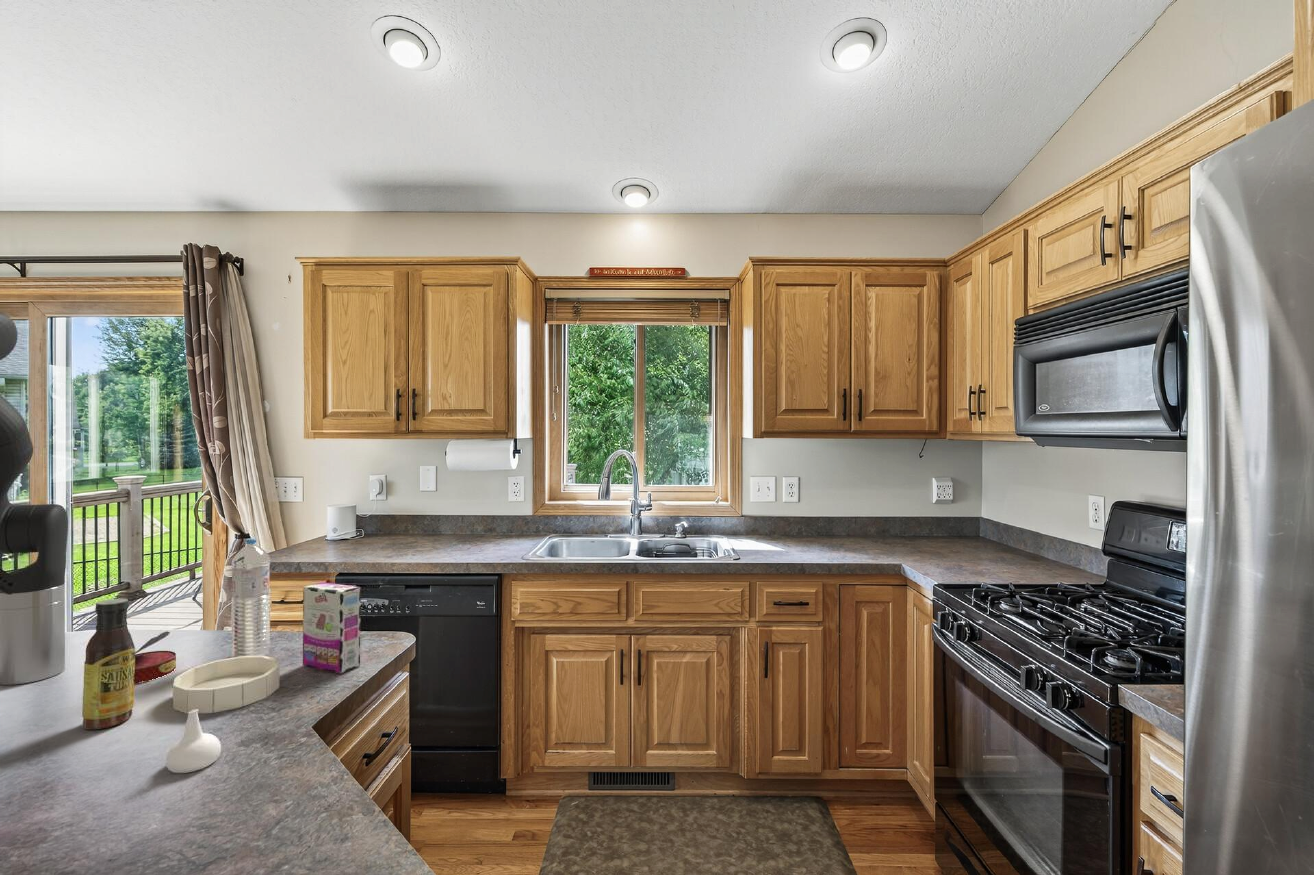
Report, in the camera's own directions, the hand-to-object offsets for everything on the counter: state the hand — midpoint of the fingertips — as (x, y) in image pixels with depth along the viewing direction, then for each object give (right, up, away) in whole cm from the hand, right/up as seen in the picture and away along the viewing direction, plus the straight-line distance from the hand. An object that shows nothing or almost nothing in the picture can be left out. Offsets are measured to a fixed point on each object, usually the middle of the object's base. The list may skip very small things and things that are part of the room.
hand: (3, 586), depth 89 cm
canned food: (-4, -25, +30) cm, 39 cm away
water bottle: (+10, -25, +39) cm, 48 cm away
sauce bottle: (+6, -25, +10) cm, 28 cm away
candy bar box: (+30, -25, +34) cm, 52 cm away
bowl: (+18, -25, +21) cm, 37 cm away
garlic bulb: (+30, -26, -2) cm, 39 cm away
